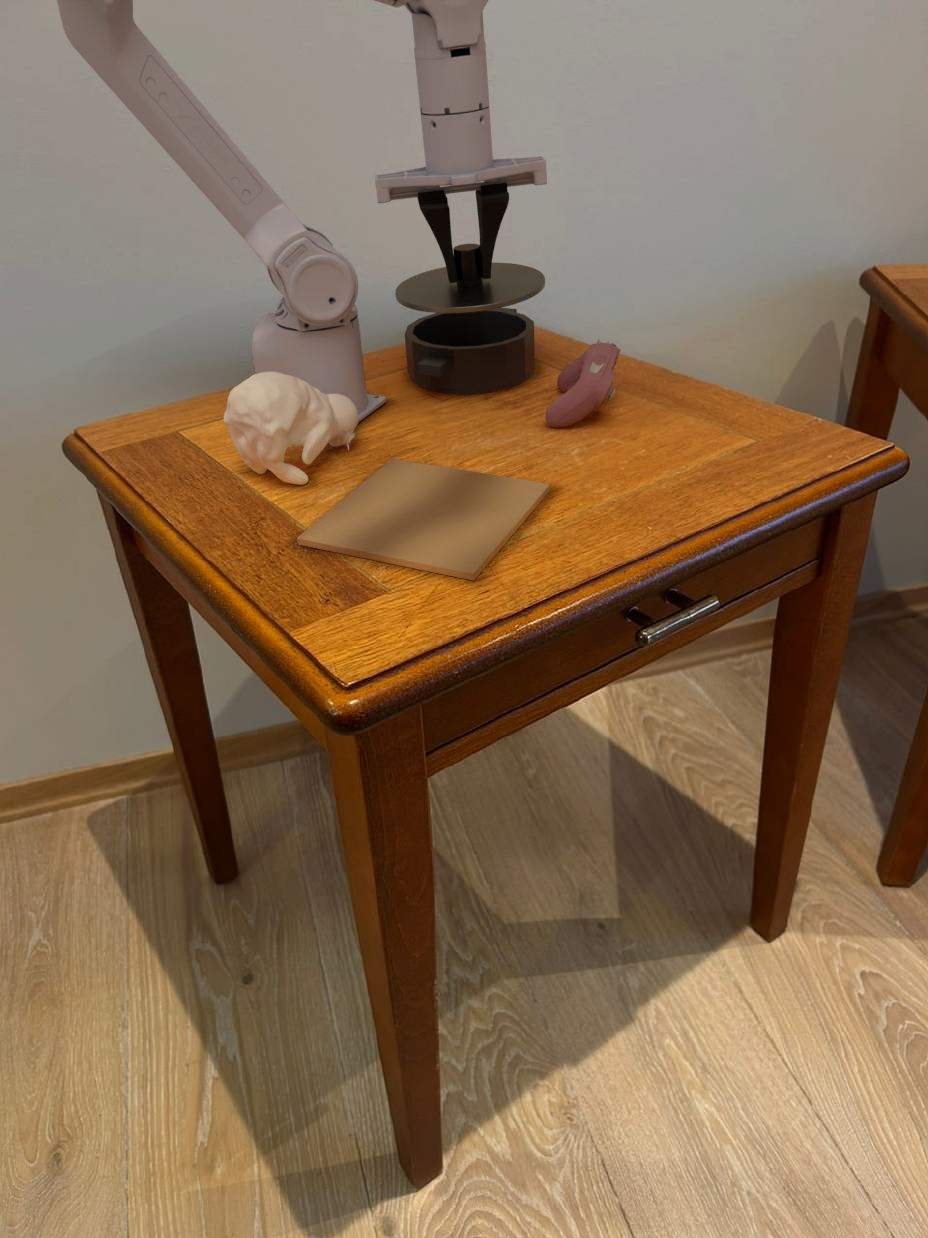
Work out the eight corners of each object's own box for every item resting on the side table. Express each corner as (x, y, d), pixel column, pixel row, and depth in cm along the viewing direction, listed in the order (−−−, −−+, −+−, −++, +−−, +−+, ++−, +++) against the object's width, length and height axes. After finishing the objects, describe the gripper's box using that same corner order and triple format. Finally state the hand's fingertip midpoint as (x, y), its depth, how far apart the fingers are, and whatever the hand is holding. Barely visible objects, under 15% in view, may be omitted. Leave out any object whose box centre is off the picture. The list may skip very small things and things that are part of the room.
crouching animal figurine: (209, 375, 74) (320, 344, 82) (222, 480, 78) (327, 440, 87) (266, 390, 71) (376, 356, 79) (276, 498, 75) (380, 456, 83)
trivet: (297, 544, 70) (296, 537, 69) (391, 465, 80) (391, 458, 79) (474, 581, 64) (473, 573, 64) (550, 490, 74) (550, 483, 74)
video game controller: (586, 448, 84) (626, 379, 80) (539, 424, 84) (577, 354, 80) (596, 404, 92) (633, 340, 88) (554, 383, 92) (588, 317, 88)
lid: (369, 315, 86) (362, 266, 84) (437, 271, 96) (432, 225, 93) (510, 324, 81) (507, 271, 78) (566, 276, 90) (565, 228, 88)
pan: (372, 395, 93) (367, 350, 90) (454, 337, 106) (452, 296, 104) (492, 411, 88) (490, 364, 86) (562, 348, 101) (562, 305, 99)
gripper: (367, 126, 76) (390, 299, 84) (550, 105, 76) (556, 280, 84) (366, 114, 82) (388, 277, 90) (536, 95, 82) (543, 259, 90)
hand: (469, 277), depth 87 cm, fingers closed on lid, 2 cm apart
